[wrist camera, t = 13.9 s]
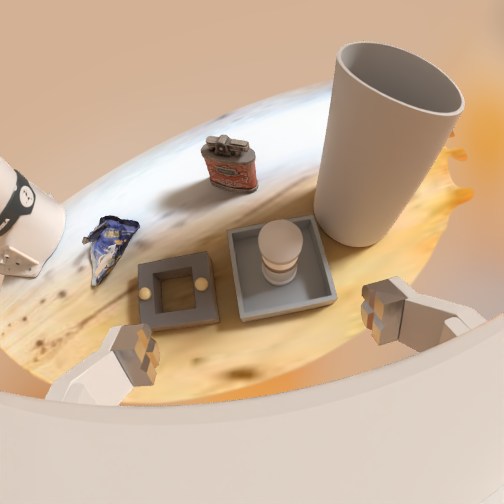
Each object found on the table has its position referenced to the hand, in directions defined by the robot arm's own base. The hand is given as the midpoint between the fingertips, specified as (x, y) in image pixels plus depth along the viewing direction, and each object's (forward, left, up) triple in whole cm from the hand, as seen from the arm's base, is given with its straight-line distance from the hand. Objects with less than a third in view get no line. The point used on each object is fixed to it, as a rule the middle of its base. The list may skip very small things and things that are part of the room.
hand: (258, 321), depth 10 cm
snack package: (-22, +19, -27) cm, 40 cm away
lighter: (-1, +27, -26) cm, 38 cm away
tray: (+3, +11, -26) cm, 28 cm away
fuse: (+3, +11, -26) cm, 28 cm away
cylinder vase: (+16, +18, -26) cm, 36 cm away
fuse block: (-11, +10, -26) cm, 30 cm away
